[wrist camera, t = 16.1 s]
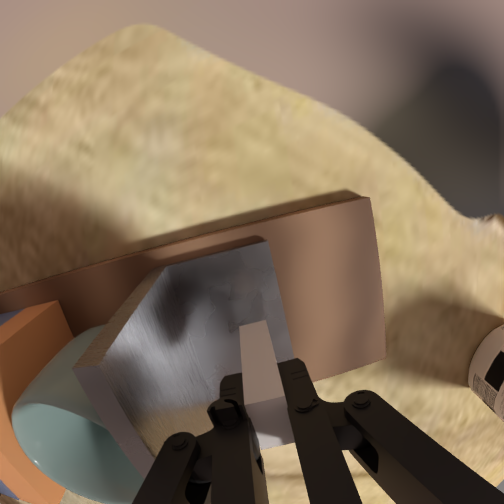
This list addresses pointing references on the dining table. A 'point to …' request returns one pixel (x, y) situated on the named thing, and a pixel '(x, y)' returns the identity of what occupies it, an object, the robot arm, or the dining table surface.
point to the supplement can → (489, 371)
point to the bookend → (179, 346)
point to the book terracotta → (14, 383)
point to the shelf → (287, 273)
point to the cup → (72, 432)
